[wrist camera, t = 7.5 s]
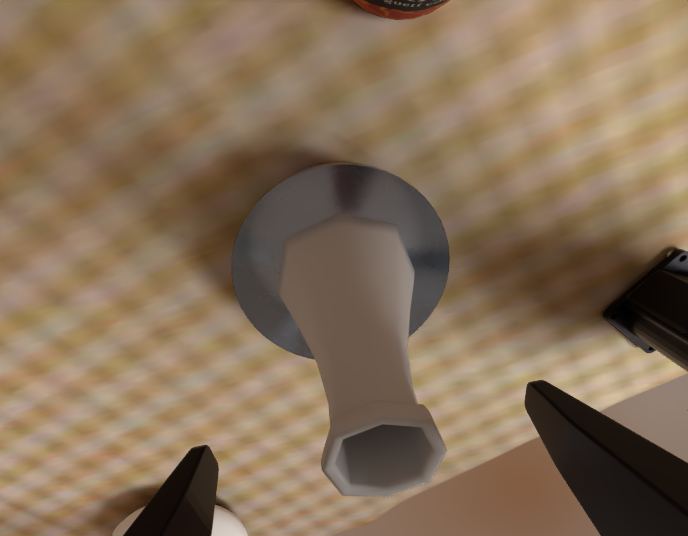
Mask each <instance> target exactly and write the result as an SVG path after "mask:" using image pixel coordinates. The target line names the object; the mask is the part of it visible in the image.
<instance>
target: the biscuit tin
mask: <svg viewBox="0 0 688 536" xmlns="http://www.w3.org/2000/svg"><path fill="white" fill-rule="evenodd" d="M338 213H342V214H347V215H352V216H357V217H362V218H367V219H372V220H377V221H382V222H387V223H392V224H397V227H398V230H399V232H400V235H401V237H402V240H403V243H404V245H405V248H406V250H407V253H408V256H409V258H410V261H411V263H412V266H413V269H414V271H415V274H414V285H413V292H412V300H411V307H410V321H409V336H410V335H412V334H413V333H414V332H415V331H416V330H417V329H418V328H419V327H420V326H421V325H422V324H423V323H424V322H425V321H426V320H427V318H428V317H429V316H430V315H431V313H432V312H433V310H434V309H435V307H436V306H437V304H438V302H439V300H440V298H441V296H442V293H443V290H444V288H445V285H446V281H447V276H448V271H449V245H448V241H447V237H446V233H445V230H444V227H443V225H442V222H441V220H440V218H439V217H438V215H437V213H436V211H435V210H434V208H433V207H432V206H431V204H430V203H429V202H428V201H427V199H426V198H425V197H424V196H423V195H422V194H421V193H420V192H418V191H417V190H416V189H415V188H414V187H413V186H411V185H410V184H408V183H407V182H405V181H404V180H402V179H401V178H399V177H397V176H395V175H393V174H391V173H389V172H387V171H384V170H381V169H378V168H375V167H372V166H367V165H362V164H357V163H351V162H329V163H321V164H317V165H313V166H310V167H307V168H304V169H302V170H299V171H297V172H296V173H294V174H292V175H290V176H288V177H287V178H285V179H284V180H283V181H281V182H279V183H278V184H277V185H275V186H274V187H273V188H272V189H270V190H269V191H268V192H267V193H266V194H265V195H264V196H263V197H262V198H261V199H260V200H259V201H258V202H257V203H256V204H255V206H254V207H253V208H252V210H251V211H250V212H249V214H248V215H247V217H246V219H245V221H244V222H243V224H242V226H241V228H240V230H239V233H238V236H237V238H236V241H235V244H234V250H233V255H232V279H233V286H234V289H235V293H236V297H237V299H238V301H239V304H240V306H241V308H242V310H243V311H244V313H245V315H246V316H247V318H248V319H249V321H250V322H251V323H252V324H253V325H254V327H255V328H256V329H257V330H258V331H259V332H260V333H261V334H262V335H264V336H265V337H266V338H267V339H269V340H270V341H271V342H273V343H274V344H276V345H277V346H279V347H281V348H283V349H285V350H287V351H289V352H292V353H294V354H296V355H300V356H303V357H306V358H310V359H315V358H314V356H313V354H312V352H311V350H310V348H309V347H308V345H307V343H306V341H305V339H304V337H303V335H302V333H301V331H300V329H299V327H298V325H297V324H296V322H295V320H294V319H293V317H292V315H291V314H290V312H289V310H288V309H287V307H286V305H285V304H284V302H283V300H282V299H281V297H280V295H279V293H278V291H277V284H278V277H279V271H280V265H281V259H282V253H283V247H284V241H285V238H286V237H288V236H290V235H292V234H295V233H297V232H299V231H301V230H303V229H305V228H308V227H310V226H312V225H314V224H316V223H318V222H321V221H323V220H325V219H327V218H329V217H332V216H334V215H336V214H338ZM409 336H408V337H409Z"/></svg>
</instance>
